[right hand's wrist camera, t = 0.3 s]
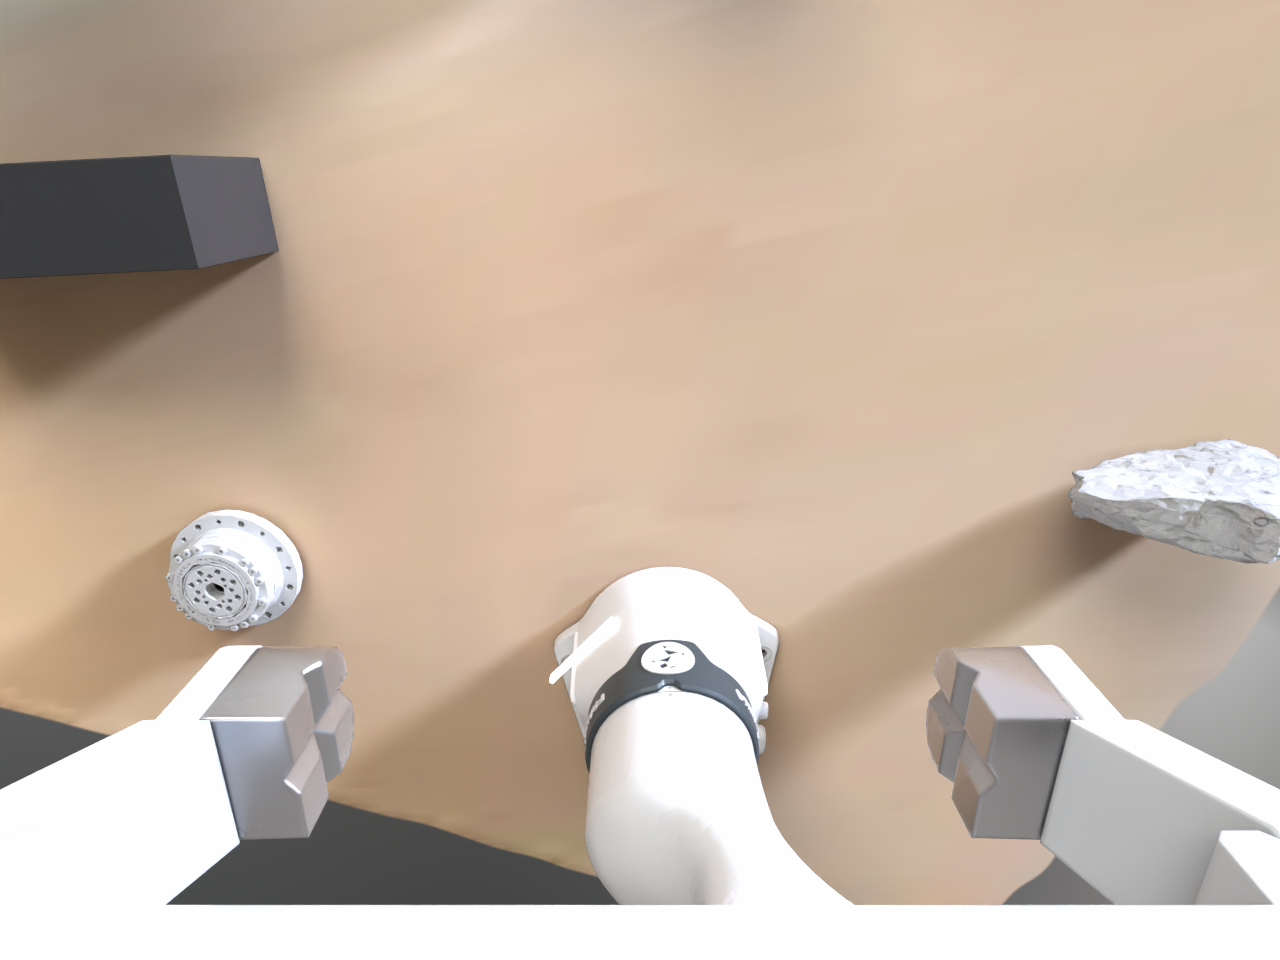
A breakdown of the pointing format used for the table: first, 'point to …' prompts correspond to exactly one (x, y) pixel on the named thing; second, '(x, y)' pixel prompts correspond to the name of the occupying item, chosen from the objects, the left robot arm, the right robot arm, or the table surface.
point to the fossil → (1190, 498)
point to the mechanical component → (233, 570)
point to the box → (131, 215)
